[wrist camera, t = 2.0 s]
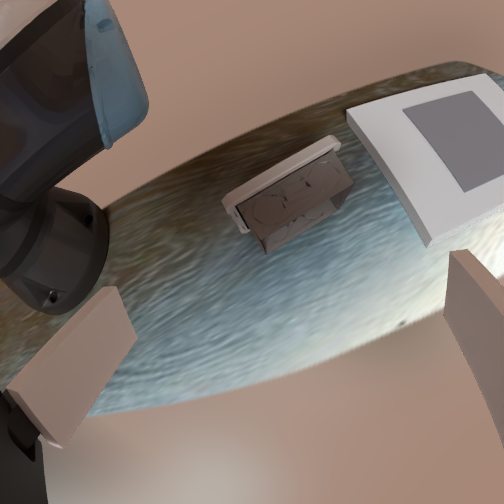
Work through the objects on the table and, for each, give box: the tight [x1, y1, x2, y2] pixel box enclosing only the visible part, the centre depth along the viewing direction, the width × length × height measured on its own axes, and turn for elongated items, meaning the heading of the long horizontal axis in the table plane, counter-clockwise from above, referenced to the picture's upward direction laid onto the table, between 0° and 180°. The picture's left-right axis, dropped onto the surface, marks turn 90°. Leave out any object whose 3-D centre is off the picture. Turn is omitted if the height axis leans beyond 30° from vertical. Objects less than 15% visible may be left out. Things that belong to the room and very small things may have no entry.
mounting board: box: [346, 74, 504, 248], centre depth 26 cm, size 22×16×2 cm
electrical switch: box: [221, 135, 355, 254], centre depth 25 cm, size 9×5×9 cm, turn 119°
